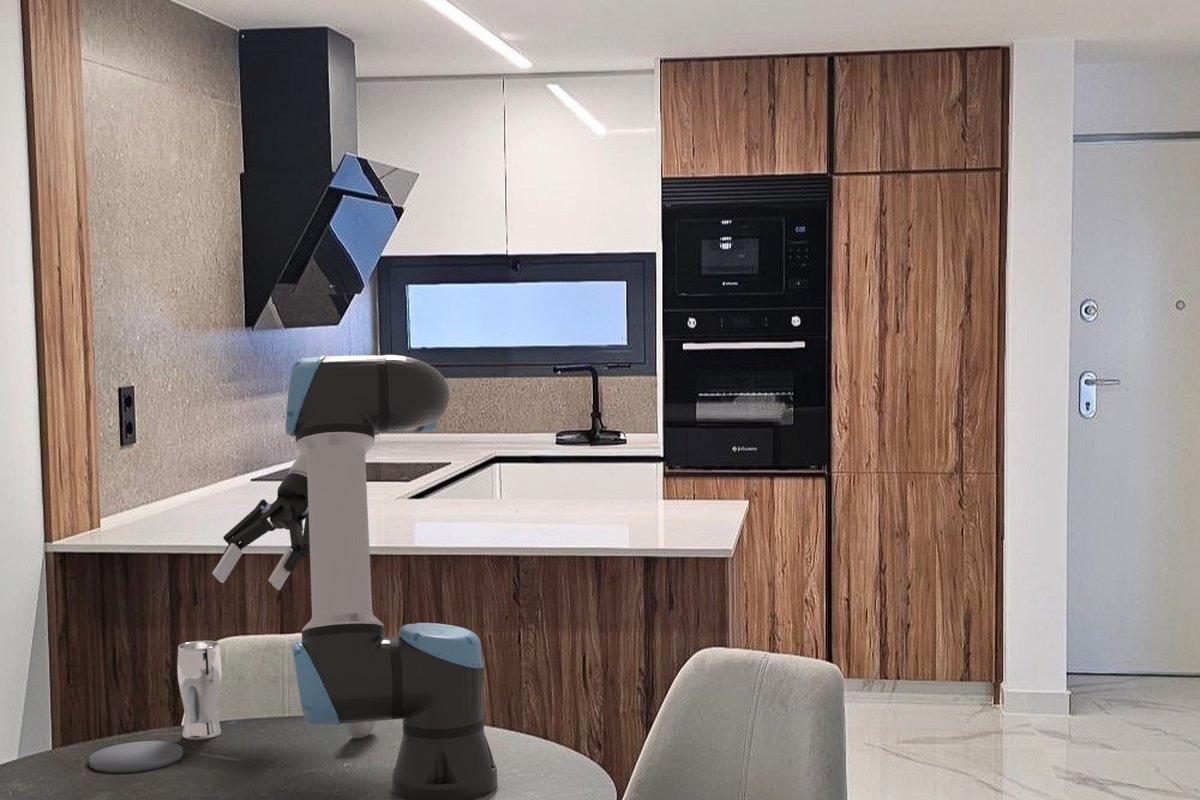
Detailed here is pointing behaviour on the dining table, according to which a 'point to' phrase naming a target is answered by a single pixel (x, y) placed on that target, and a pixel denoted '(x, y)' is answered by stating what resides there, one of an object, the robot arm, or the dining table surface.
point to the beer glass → (200, 688)
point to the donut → (359, 728)
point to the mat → (135, 756)
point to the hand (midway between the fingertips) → (245, 581)
